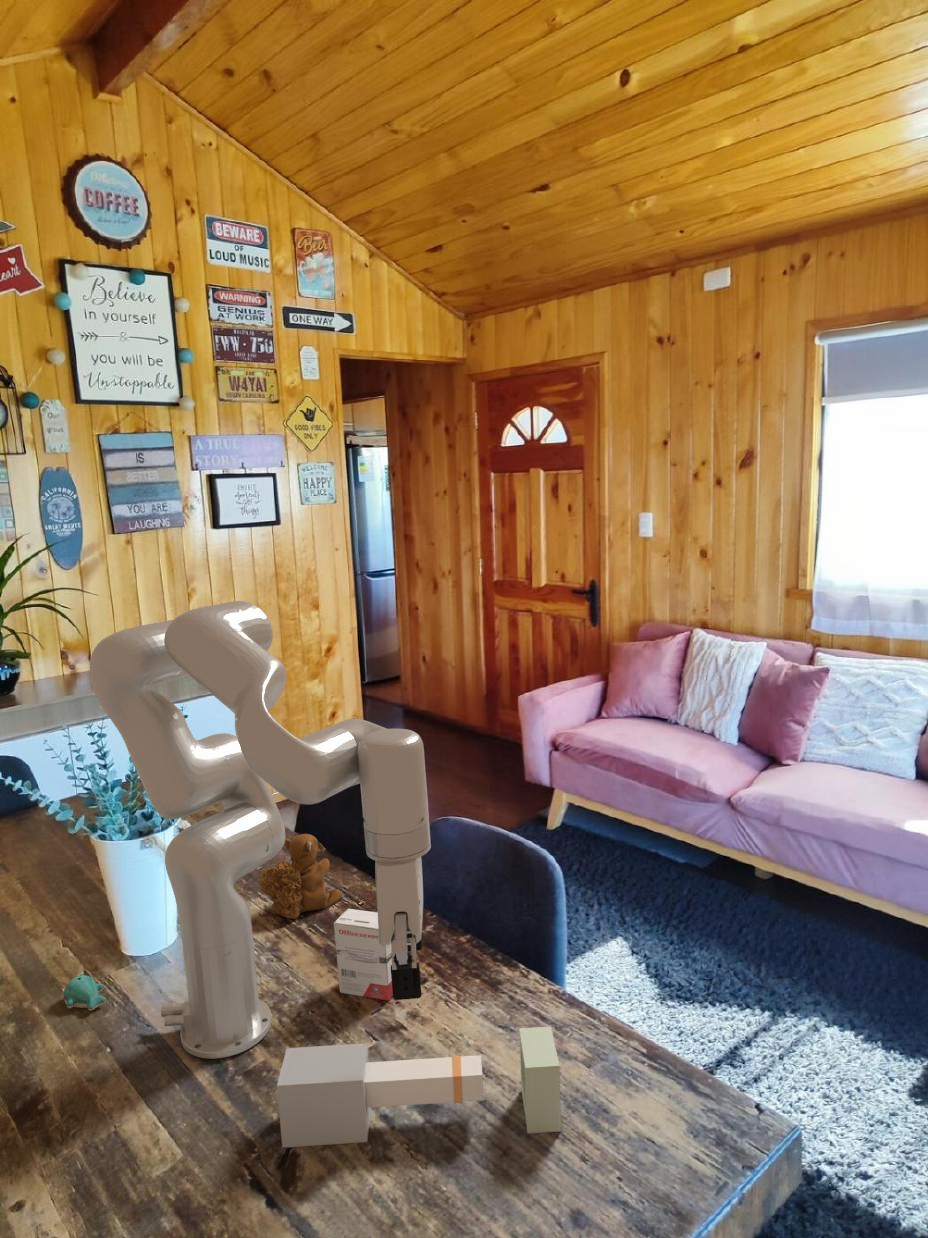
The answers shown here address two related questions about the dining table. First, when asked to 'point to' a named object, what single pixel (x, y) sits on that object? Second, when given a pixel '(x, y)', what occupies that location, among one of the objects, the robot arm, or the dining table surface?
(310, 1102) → the grey block
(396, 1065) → the orange-striped white bar
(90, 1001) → the whale figurine
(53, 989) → the dining table surface
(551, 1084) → the socket
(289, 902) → the stuffed squirrel
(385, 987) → the ink box
